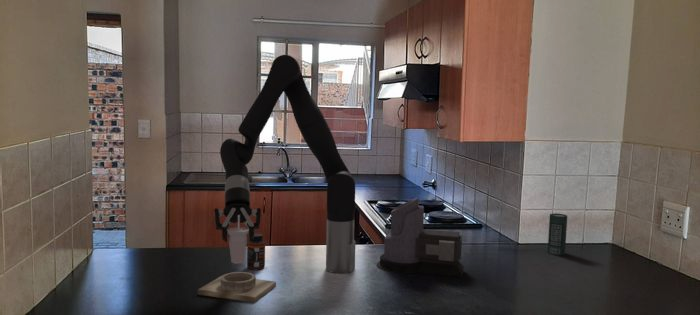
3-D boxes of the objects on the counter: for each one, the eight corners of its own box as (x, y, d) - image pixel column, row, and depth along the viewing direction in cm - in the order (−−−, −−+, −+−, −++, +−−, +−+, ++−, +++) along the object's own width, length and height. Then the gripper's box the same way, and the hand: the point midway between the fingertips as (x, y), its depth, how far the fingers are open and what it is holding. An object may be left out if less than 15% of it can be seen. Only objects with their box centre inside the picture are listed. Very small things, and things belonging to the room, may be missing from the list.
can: (566, 252, 208) (568, 214, 206) (562, 255, 203) (565, 217, 201) (549, 249, 211) (552, 212, 210) (546, 253, 206) (548, 215, 205)
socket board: (275, 286, 161) (276, 273, 160) (255, 302, 147) (255, 288, 147) (222, 279, 166) (222, 267, 165) (198, 294, 152) (198, 281, 152)
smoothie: (229, 266, 152) (230, 217, 150) (224, 259, 157) (224, 213, 156) (251, 263, 155) (252, 216, 153) (245, 257, 160) (245, 211, 159)
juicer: (372, 270, 179) (374, 198, 177) (380, 257, 195) (382, 191, 193) (462, 279, 172) (466, 204, 170) (464, 265, 188) (467, 197, 186)
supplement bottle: (261, 271, 175) (261, 237, 174) (244, 269, 177) (244, 236, 176) (267, 265, 181) (267, 233, 180) (251, 264, 182) (251, 232, 181)
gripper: (213, 186, 159) (212, 234, 149) (261, 186, 163) (264, 233, 153) (213, 200, 165) (212, 247, 155) (260, 200, 168) (262, 246, 158)
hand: (238, 240), depth 154 cm, fingers closed on smoothie, 6 cm apart
